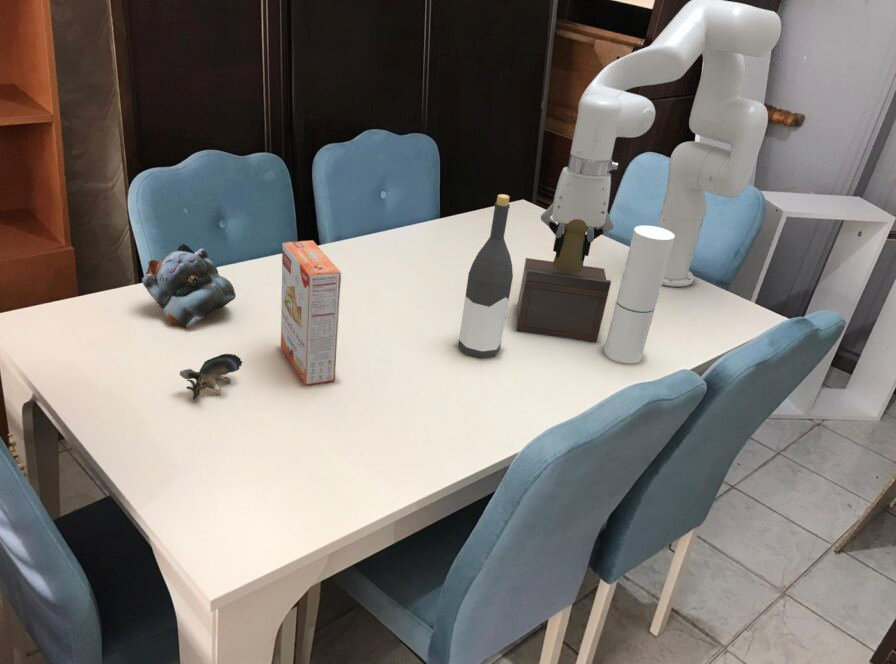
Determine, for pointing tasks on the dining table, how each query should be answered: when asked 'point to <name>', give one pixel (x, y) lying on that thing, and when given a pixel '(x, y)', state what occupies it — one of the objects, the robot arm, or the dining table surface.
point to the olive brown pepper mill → (572, 247)
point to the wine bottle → (488, 291)
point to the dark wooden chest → (562, 301)
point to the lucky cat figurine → (187, 286)
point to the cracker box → (309, 311)
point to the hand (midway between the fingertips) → (569, 256)
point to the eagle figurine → (212, 373)
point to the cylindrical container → (638, 293)
